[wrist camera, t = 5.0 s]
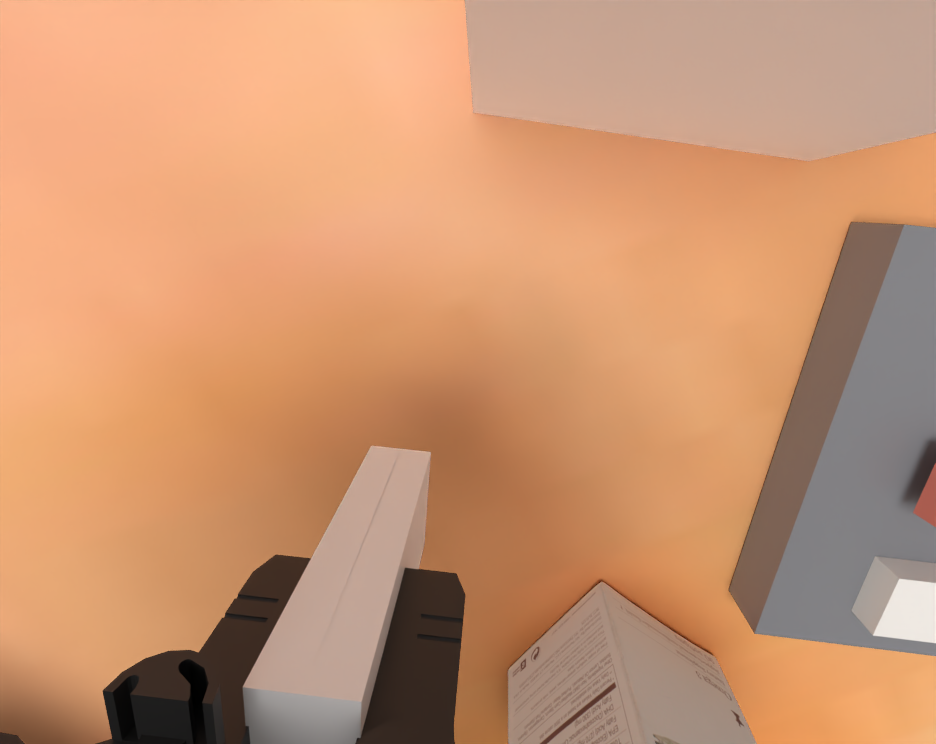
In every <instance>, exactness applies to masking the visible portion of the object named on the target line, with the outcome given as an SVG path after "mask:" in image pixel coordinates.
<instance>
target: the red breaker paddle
mask: <svg viewBox="0 0 936 744" xmlns="http://www.w3.org/2000/svg"><path fill="white" fill-rule="evenodd" d="M913 513H914V514H916V515H917V516H919V517H920V518H922V519H923V520H925V521H927V522H928V523H930V524H931V525H933V526H934V527H936V463H935V465H934V467H933V469H932V471H931V474H930V476H929V478H928V480H927V483H926V485H925V487H924V489H923V491H922V494H921V496H920V498H919V500H918V502H917V505H916V507H915V509H914V511H913Z"/></svg>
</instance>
